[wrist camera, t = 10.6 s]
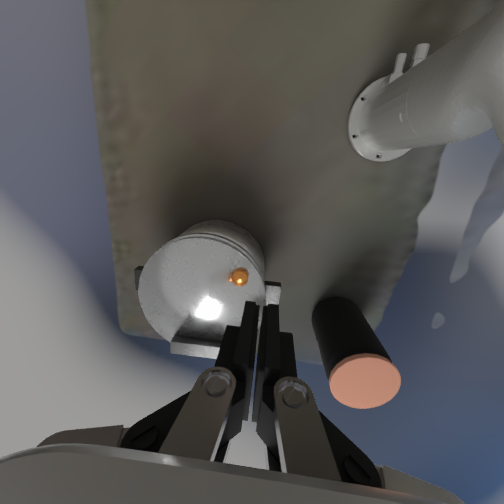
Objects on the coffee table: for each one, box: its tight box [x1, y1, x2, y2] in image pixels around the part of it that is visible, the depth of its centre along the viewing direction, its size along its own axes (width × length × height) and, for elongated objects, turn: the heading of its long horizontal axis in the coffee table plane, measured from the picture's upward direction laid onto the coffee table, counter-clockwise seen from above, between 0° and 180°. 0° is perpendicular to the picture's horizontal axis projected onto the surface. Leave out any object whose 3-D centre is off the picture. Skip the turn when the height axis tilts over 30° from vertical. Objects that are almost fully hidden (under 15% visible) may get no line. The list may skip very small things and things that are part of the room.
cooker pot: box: [134, 220, 281, 306], centre depth 45 cm, size 21×26×12 cm
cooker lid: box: [138, 236, 266, 359], centre depth 38 cm, size 21×21×3 cm
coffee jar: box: [312, 297, 401, 409], centre depth 45 cm, size 11×11×18 cm
